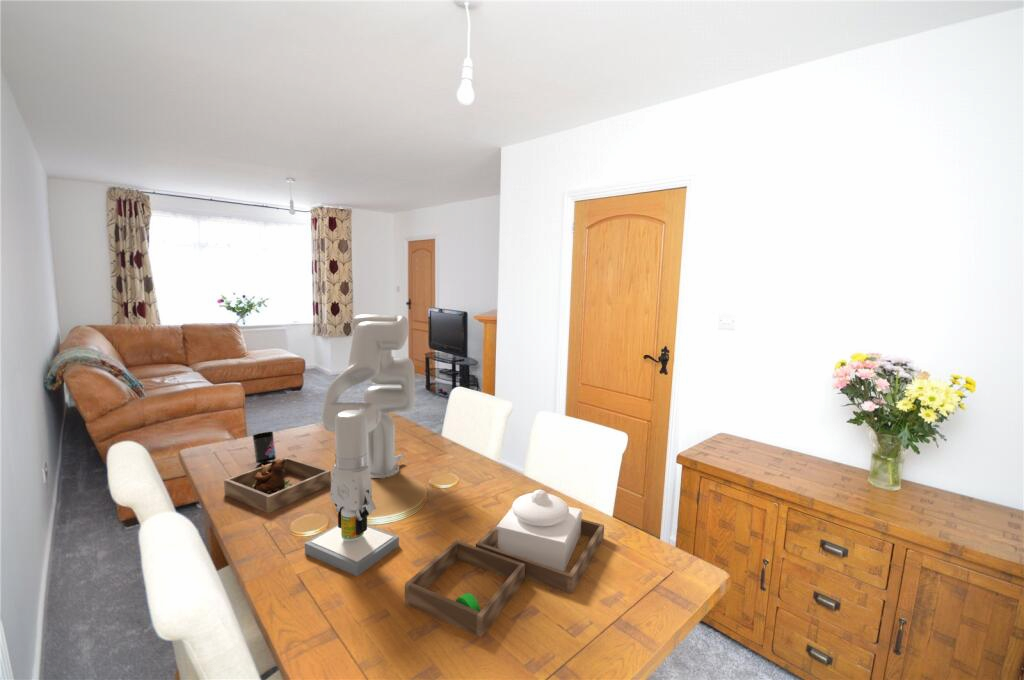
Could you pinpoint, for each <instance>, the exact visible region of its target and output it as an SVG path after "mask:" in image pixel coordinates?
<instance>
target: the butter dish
mask: <svg viewBox="0 0 1024 680" xmlns="http://www.w3.org/2000/svg"><path fill="white" fill-rule="evenodd" d="M582 513H583V511H582V509H581V508H576V507H574V506H573V507H572V506H568V504H567V502H565V501H564V500H563V499H562V498H560V497H559V496H556V495H554V494H551V493H547V492H546V491H545V490H543V489H535V490H534V491H532V492H530V493H526V494H523V495H520V496H519V497H517V498H516V499H515V500H514V501H513V503H512V505H511V508H510V509H509V510H508V511H507V513H506V514H505V515H504V517H503V518H502V519H501V520H499V522H500V523H499V522H498V523H499V524H498V523H497V524H498V525H497V524H496V525H497V529H498V542H497V544H496V545H497V549H500V550H503V551H506V552H508V553H511V554H514V555H517V556H520V557H523V558H526V559H529V560H532V561H535V562H538V563H541V564H544V565H547V566H549V567H552V568H555V569H558V570H561V571H564V572H566V568H567V566H568V564H569V561H570V560H571V557H572V555H573V553H574V551H575V549H576V546H577V543H578V541H579V539H580V537H581V535H582V534H581V519H583V518H582V515H583V514H582Z"/></svg>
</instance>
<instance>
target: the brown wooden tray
mask: <svg viewBox="0 0 1024 680" xmlns="http://www.w3.org/2000/svg"><path fill="white" fill-rule="evenodd" d="M283 459H286V462H285V463H284V468H283V470H284V471H285V472H284V474H287V473H290V474H292V475H296V476H298V477H301V478H304V480H302V481H298V482H297V483H295V484H294V483H293V485H292V486H290V487H287V488H285V489H282V490H280V491H278V492H275V493H273V494H271V495H269V494H266V493H263V492H261V491H258V490H255V489H253V488H251V487H250V484H251V483H253V482H255V481H256V479H255V476H256V474H257V473H258V472H261V473H262V466H260V467H256V468H253V469H251V470H247V471H245V472H242V473H239V474H237V475H234V476H231V477H229V478H226V479H224V480H223V486H224V487H223V488H224V496H226V497H228V498H230V499H233V500H236V501H238V502H240V503H243V504H246V505H248V506H250V507H253V508H255V509H258V510H260V511H263V512H265V513H267V514H271V513H272V512H275V511H276V510H279V509H281V508H283V507H285V506H288V505H289V504H292V503H294V502H296V501H299V500H300V499H302V498H304V497H306V496H309V495H311V494H313V493H316V492H317V491H319V490H321V489H324V488H325V487H328V486H331V477H332V471H331V470H330V469H326V468H324V467H320V466H318V465H317V466H316V465H313V464H310V463H309V462H308V463H307V462H303V461H300V460H298V459H294V458H291V457H289V456H288V457H284V458H281V459H280V460H283ZM266 465H269V466H271V462H270V463H267V464H265V465H264V466H266Z"/></svg>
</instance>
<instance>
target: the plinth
mask: <svg viewBox="0 0 1024 680" xmlns="http://www.w3.org/2000/svg"><path fill="white" fill-rule="evenodd" d="M398 547H400V536H398V535H396V534H393V533H391V532H388V531H384V530H382V529H379V528H376V527H373V526H371V525H368V524H367V530H366V531H364V534H363V536H362V537H361V538H359V539H357V540H354V541H346V540H344V539H342V536H341V528H338V524H336V525H334V526H332V527H331V528H329V529H327V530H325V531H324V532H322V533H320V534H318V535H317V536H315V537H312V538H311V539H309V540H307V541H306V542H304V554H305V555H307V556H310V557H312V558H314V559H317V560H318V561H321V562H323V563H325V564H327V565H330V566H332V567H334V568H337V569H340V570H342V571H344V572H346V573H348V574H351V575H353V576H355V577H359V576H360V575H362V574H363V573H364V572H366V571H367V570H368V569H369V568H371V567H372V566H374V565H375V564H376V563H378V562H379V561H381V560H382V559H383V558H384V557H386V556H387V555H388V554H390V553H391V552H392V551H394V550H396V549H397V548H398Z"/></svg>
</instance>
